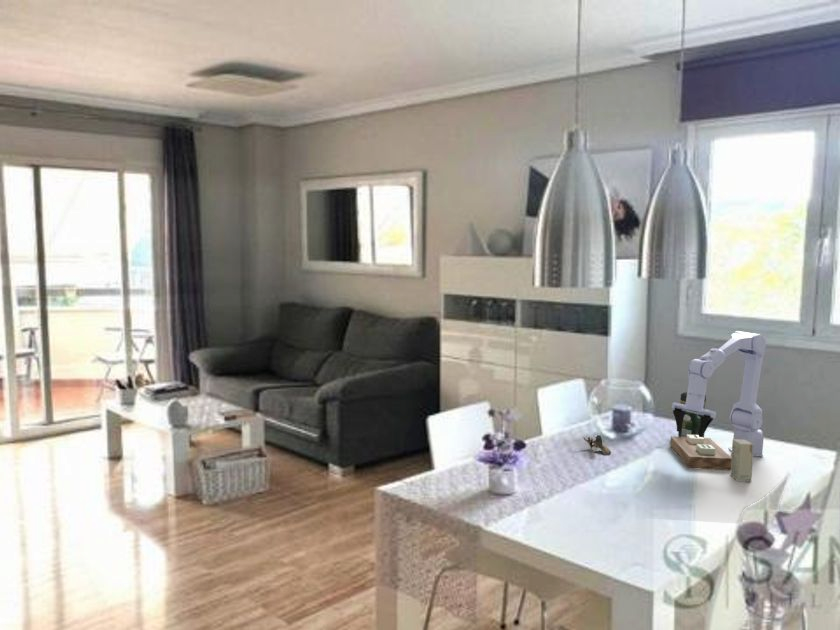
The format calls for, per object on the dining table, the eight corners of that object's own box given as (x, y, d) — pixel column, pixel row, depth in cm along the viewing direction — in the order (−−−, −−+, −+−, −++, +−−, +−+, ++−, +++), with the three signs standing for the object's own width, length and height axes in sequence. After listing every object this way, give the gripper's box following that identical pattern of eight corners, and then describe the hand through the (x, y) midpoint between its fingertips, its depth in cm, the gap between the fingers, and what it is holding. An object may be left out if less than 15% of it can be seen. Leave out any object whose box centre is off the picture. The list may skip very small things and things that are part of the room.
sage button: (710, 454, 244) (711, 444, 243) (714, 458, 239) (715, 448, 238) (695, 453, 244) (696, 443, 244) (700, 457, 239) (700, 447, 239)
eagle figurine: (579, 447, 253) (599, 449, 245) (585, 429, 255) (605, 430, 248) (592, 456, 256) (612, 458, 249) (598, 438, 259) (618, 440, 251)
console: (709, 448, 259) (709, 438, 258) (731, 470, 235) (732, 458, 235) (670, 446, 260) (670, 436, 260) (688, 468, 236) (689, 456, 236)
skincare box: (751, 482, 224) (754, 444, 223) (738, 481, 224) (740, 444, 223) (743, 475, 230) (745, 438, 229) (729, 475, 230) (732, 438, 229)
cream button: (699, 443, 255) (700, 434, 255) (703, 447, 251) (704, 438, 250) (686, 443, 256) (686, 433, 255) (689, 447, 251) (690, 437, 251)
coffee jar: (688, 434, 278) (692, 387, 276) (707, 439, 272) (710, 391, 270) (674, 437, 272) (677, 390, 270) (692, 442, 266) (695, 394, 264)
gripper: (670, 390, 241) (664, 429, 242) (712, 399, 231) (706, 440, 232) (679, 390, 246) (673, 428, 247) (721, 399, 236) (714, 438, 237)
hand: (689, 434), depth 240 cm, fingers open, 7 cm apart
